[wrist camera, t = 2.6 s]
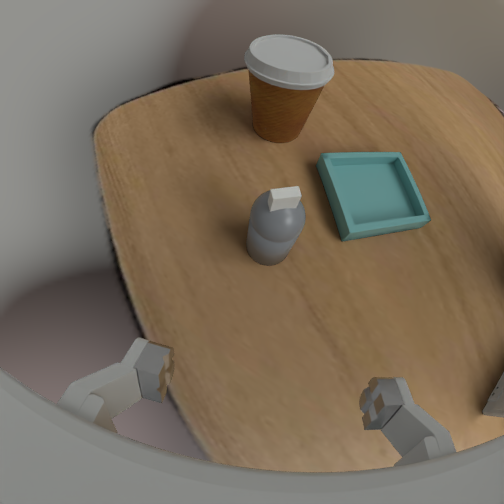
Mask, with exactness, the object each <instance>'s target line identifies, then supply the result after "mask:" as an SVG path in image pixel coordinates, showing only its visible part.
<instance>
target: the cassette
mask: <svg viewBox="0 0 504 504" xmlns="http://www.w3.org/2000/svg"><path fill="white" fill-rule="evenodd" d="M482 412H483V414H484V415H487V416H496V417H504V372H503V374H502V376H501V378H500V380H499V381H498V383H497V385H496V387H495V389H494V390H493V392H492V394H491V395H490V397H489V399H488V403H487V404H486V406H485V408H484V409H483V411H482Z"/></svg>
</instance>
